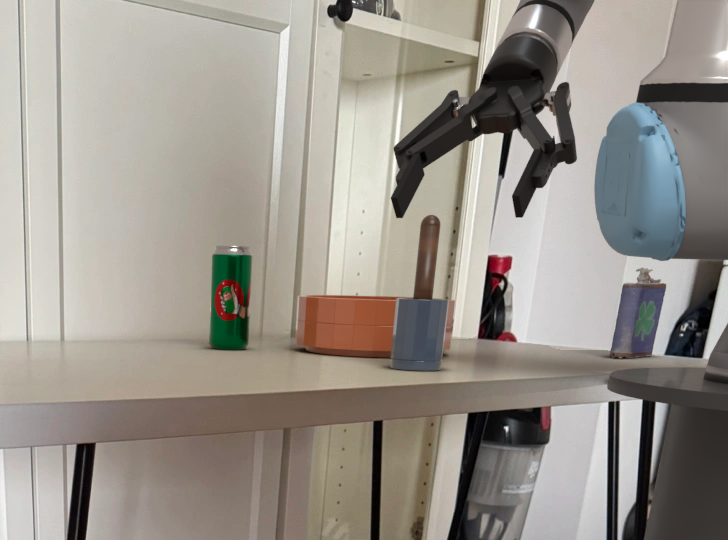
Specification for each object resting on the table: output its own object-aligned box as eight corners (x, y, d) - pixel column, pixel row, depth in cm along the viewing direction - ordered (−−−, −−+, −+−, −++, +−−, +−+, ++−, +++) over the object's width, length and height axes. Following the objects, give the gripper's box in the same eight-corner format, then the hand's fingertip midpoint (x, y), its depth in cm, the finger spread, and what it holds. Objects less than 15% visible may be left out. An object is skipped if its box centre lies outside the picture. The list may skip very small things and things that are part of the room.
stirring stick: (429, 359, 111) (445, 215, 105) (418, 359, 110) (434, 214, 104) (413, 357, 112) (428, 215, 107) (403, 358, 111) (417, 214, 105)
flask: (623, 358, 131) (640, 267, 127) (602, 357, 133) (617, 267, 129) (656, 356, 137) (673, 268, 133) (635, 354, 139) (651, 268, 135)
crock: (450, 369, 111) (459, 299, 108) (421, 371, 108) (429, 300, 105) (409, 365, 115) (416, 297, 112) (379, 367, 111) (386, 298, 108)
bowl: (478, 354, 132) (485, 300, 129) (388, 361, 119) (394, 301, 117) (356, 344, 145) (360, 294, 142) (263, 349, 132) (266, 295, 129)
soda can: (227, 346, 135) (230, 246, 130) (256, 349, 132) (261, 246, 127) (200, 347, 132) (203, 245, 127) (230, 350, 129) (234, 245, 124)
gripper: (643, 88, 111) (576, 236, 106) (428, 102, 124) (359, 235, 119) (640, 20, 105) (568, 174, 100) (414, 43, 118) (341, 180, 113)
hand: (454, 207), depth 109 cm, fingers open, 13 cm apart
